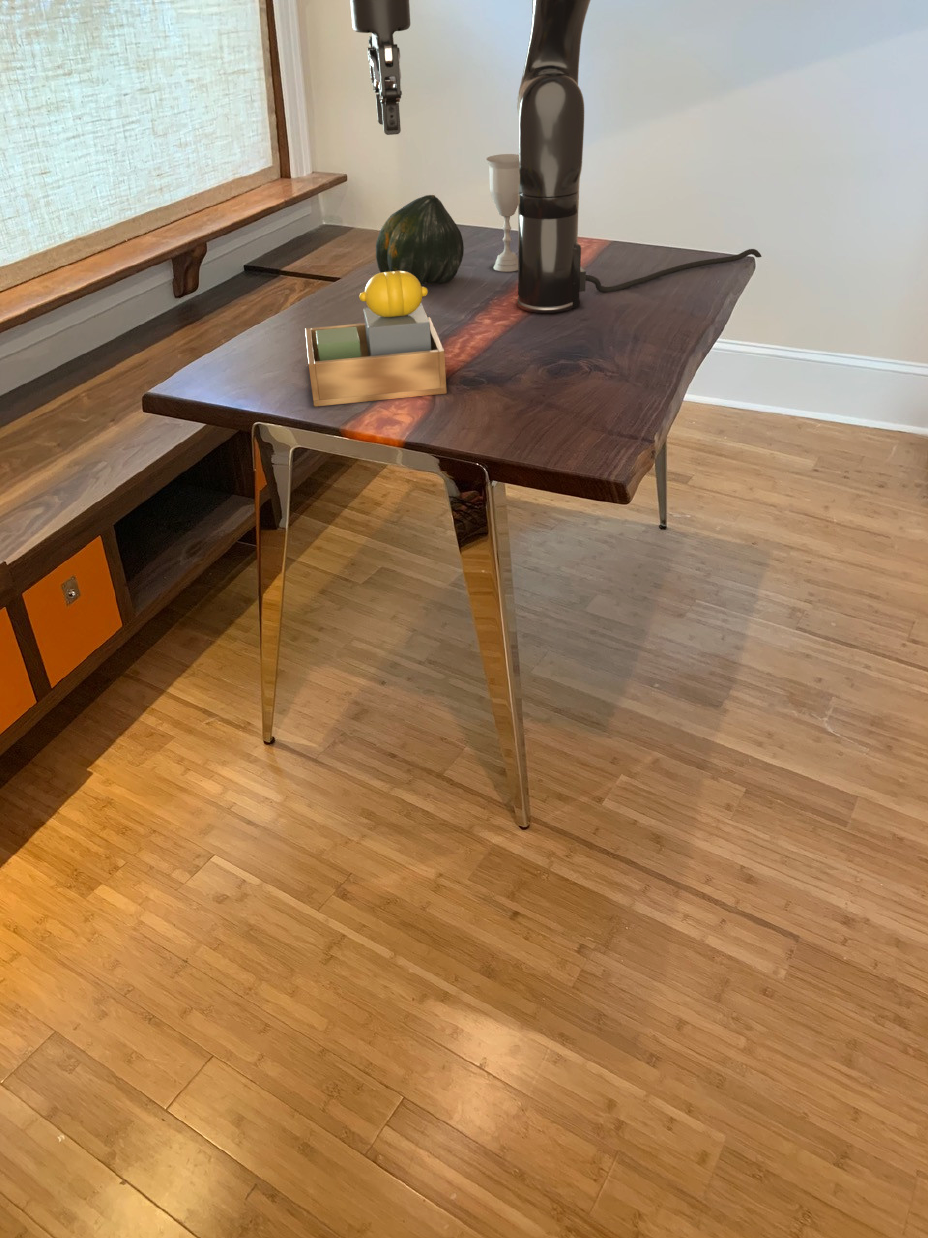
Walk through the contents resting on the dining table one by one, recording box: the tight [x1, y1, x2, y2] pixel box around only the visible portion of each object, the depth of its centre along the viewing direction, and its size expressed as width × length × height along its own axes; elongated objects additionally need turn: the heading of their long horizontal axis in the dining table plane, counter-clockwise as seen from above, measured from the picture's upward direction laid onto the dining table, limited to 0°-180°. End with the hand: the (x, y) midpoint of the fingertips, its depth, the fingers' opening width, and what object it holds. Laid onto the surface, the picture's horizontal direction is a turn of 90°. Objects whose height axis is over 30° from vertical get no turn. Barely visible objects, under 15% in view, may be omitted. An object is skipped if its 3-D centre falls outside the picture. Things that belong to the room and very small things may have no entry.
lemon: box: [358, 271, 429, 317], centre depth 124 cm, size 9×6×6 cm, turn 99°
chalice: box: [486, 153, 519, 273], centre depth 166 cm, size 7×7×18 cm
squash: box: [375, 194, 465, 286], centre depth 162 cm, size 14×15×15 cm
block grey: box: [363, 302, 431, 356], centre depth 128 cm, size 8×8×8 cm
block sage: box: [316, 327, 361, 361], centre depth 128 cm, size 6×6×6 cm
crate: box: [304, 316, 447, 408], centre depth 129 cm, size 18×14×6 cm
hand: (389, 128), depth 130 cm, fingers open, 8 cm apart
